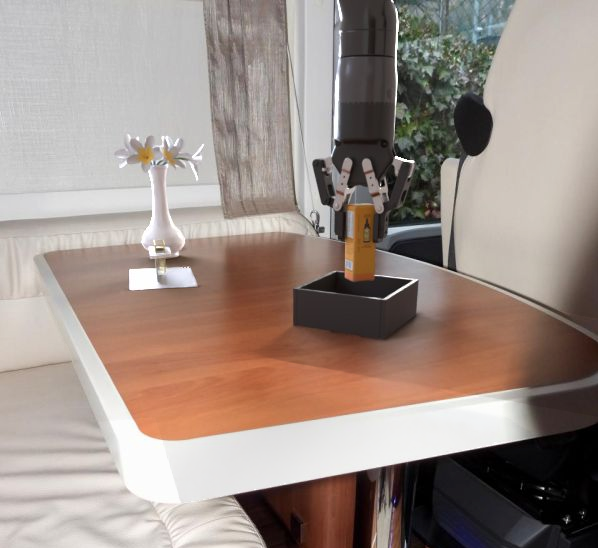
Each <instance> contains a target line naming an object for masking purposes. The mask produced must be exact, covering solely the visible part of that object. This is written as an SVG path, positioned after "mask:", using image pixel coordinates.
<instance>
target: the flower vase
mask: <svg viewBox="0 0 598 548" xmlns="http://www.w3.org/2000/svg"><path fill="white" fill-rule="evenodd" d="M123 144H124V147H125V148H119V149H117V150H115V152H114V154H113V156H114V157H115V158H118V159H121V160H120V162H119V164H118V168H119V169H122V168H123V167H125V165H126V164H128V165H137V164H140V168H141V171H142V172H143V173H145V174H147V173H149V177H150V181H151V190H152V217H151V220H150V224H149V225H148V226H147V228H146V229H145V230H144V232H143V234H142V236H141V245H142V246H143V248H144V250H146V251H147V252H149V247H153V246H154V240H163V241H164V244H165V247H169V248H170V251H171V256H170V257H165V259H167V260H168V259H174V258H178V257H179V255H180V251H181V250H182V249H183V248H184V246H185V244H186V239H185V236H184V234H183V232H182V231H181V230H180V229H179V228H178V227H177V226H176V225H175V223H174V221H173V219H172V217H171V213H170V209H169V202H168V193H167V192H168V191H167V176H168V175H167V173H168V169H169V167H171V169H173V170H174V171H176V170H177V167H178V168H181V169H183V170H186V169H187V164H186V162H188V163H189V164H190V167H191V169H192V171H193V173H194V175H195V176H194V177H195V178H196V181H198V180H199V166H200V165H201V164H202V161H203V155H202V152H203V150H204V149H203V148H204V145H205V143H203V144H202V145H201V146H200V148H199V149H198V150H197V152H196V153H194V155H192V154H191V153H189V152H188V151H187V152H186V151H183V150H184V149H185V139H184V138H182V137H178V138H177V139H176V141H175V143H174V141H173V140H172V138H171V137H170V136H169V135H166V136H164V135H162V136H161V144H160V145H156V137H155V136H154V135H153V134H151V135H149V136H146V137H145V140H144V144H142V143H141V141H140V137H139V136H136V137H135V138H132V137H131V136H130V134H129V133H126V134H125V135H124V139H123ZM155 245H156V246H159V247H163V243H162V242H155ZM157 253H164V251H157ZM160 259H164V258H160Z"/></svg>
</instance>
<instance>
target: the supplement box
mask: <svg viewBox="0 0 598 548" xmlns="http://www.w3.org/2000/svg"><path fill="white" fill-rule="evenodd" d="M374 214H376V211H375V207H374V203H369V202H368V203H367V202H366V203H349V204H347V205H346V237H345V240H344V241H345V243H344V272H345V278H347V279H348V280H350V281H353V282H358V281H373V280H374V278H375V275H376V273H375V272H376V252H377V251H376V249H377V247H376V246H377V243H373V220H374Z"/></svg>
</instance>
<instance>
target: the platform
mask: <svg viewBox="0 0 598 548" xmlns="http://www.w3.org/2000/svg"><path fill="white" fill-rule="evenodd" d="M155 242H162V243H163V247H159V246H156V245H155ZM157 251H164V253H157ZM148 254H149V259H150V260H154V263H155V264H154V265H155V268H134V269H133V268H132V269H131V268H130V269H129V290H130V291H137V290H140V291H141V290H154V289H155V290H156V289H157V290H158V289H175V288H176V289H177V288H193V287H199V285H198V283H197V280H196V278H195V276H194V273H193V271H192V269H191V267H190V266H176V267H175V266H174V267H173V266H172V267H167V262H166V259H165V257H170V256H171V251H170V248H169V247H165V244H164V241H163V240H154V246H153V247H149V251H148ZM160 258H164V259H160ZM183 267H184V268H183ZM186 267H187V268H186ZM189 267H190V268H189Z"/></svg>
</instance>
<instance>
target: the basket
mask: <svg viewBox="0 0 598 548" xmlns="http://www.w3.org/2000/svg"><path fill="white" fill-rule="evenodd" d="M419 281H420V280H419V279H416V278H409V277H407V278H406V277H397V276H388V275H381V274H380V275H379V274H375V278H374V280H373V281H358V282H353V281H350V280H348V279H347V278H345V271H343V270H333V271H330V272H328V273H326V274H323V275H321V276H319V277H316V278H314V279H312V280H310V281H308V282H304V283H302V284H300V285H298V286H296V287H294V288H292V326H295V327H302V328H307V329H315V330H319V331H320V330H322V331H326V332H327V331H328V332H334V333H341V334H347V335H354V336H360V337H365V338H366V337H367V338H373V339H379V340H385V339H386V338H387V337H389V336H390V335H392V334H393V333H394V332H396V331H397V330H398V329H399V328H400V327H402V326H403V325H405V324H406V323H408V321H410V320H411V319H412V318H413V317H415V316H417V307H418V297H419V296H418V295H419Z"/></svg>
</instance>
